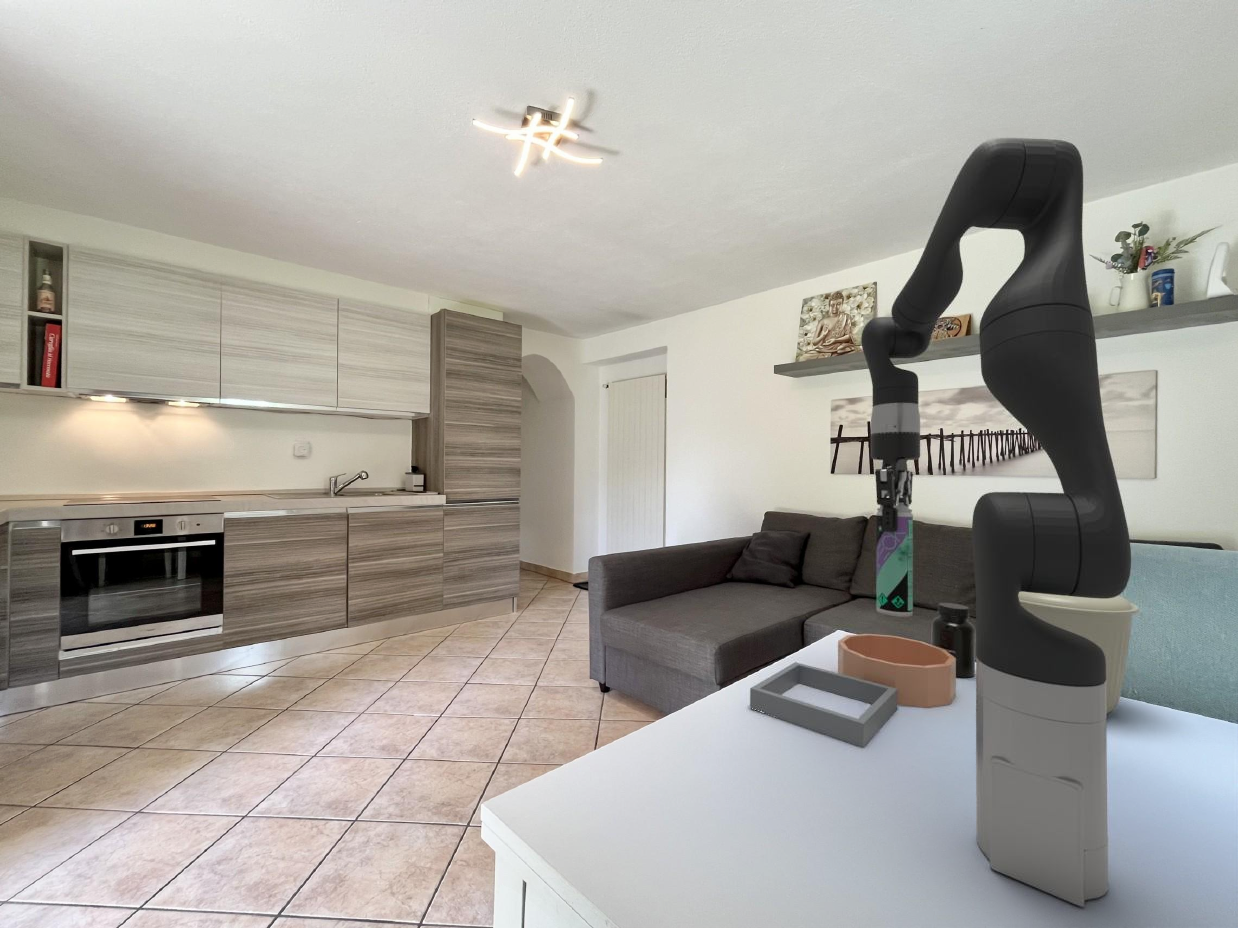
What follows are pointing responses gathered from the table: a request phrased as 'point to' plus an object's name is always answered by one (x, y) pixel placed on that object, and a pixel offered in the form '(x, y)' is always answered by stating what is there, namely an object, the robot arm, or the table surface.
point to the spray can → (895, 565)
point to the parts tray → (819, 718)
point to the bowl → (901, 667)
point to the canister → (1091, 628)
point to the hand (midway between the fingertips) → (894, 530)
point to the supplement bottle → (955, 636)
